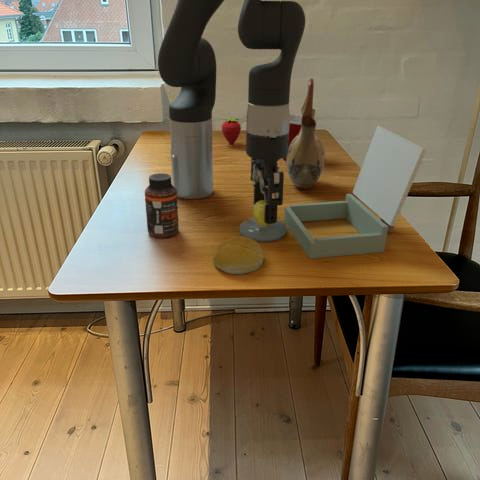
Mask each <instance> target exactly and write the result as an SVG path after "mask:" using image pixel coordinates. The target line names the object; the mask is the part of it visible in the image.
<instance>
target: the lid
mask: <svg viewBox="0 0 480 480" xmlns="http://www.w3.org/2000/svg"><path fill="white" fill-rule="evenodd" d="M426 153H427V149H426V148H424V147H422V146H421V145H418V144H416V143H415V142H412V141H410V140H409V139H406V138H404V137H402V136H401V135H398V134H397V133H395V132H393V131H390V130H388V129H387V128H386V127H385V128H384V127H383V126H381V125H380V126H379V125H377V126H376V128H375V132H374V134H373V137H372V139H371V142H370V145H369V147H368V150H367V152H366V155H365V158H364V161H363V164H362V166H361V168H360V171H359V174H358V176H357V179H356V182H355V184H354V188H353V190H352V193H351V194H352V195H354V196H356V198H357V199H358V200H360V202H361V203H363V204H365V206H366V207H367V208H368V209H369V210H372V212H374V213H375V215H376V216H377V215H378V216H377V217H380V219H381V218H382V219H383V220H384V221H385V222H386V223H388V224H389V225H390V226H394V225H396V223H397V220H398V218H399V215H400V213H401V210H402V208H403V206H404V204H405V201H406V199H407V197H408V194H409V192H410V190H411V187H412V186H413V182H414V180H415V178H416V176H417V174H418V171H419V169H420V166H421V164H422V162H423V159H424V157H425V155H426ZM394 227H395V226H394Z"/></svg>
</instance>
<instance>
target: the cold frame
mask: <svg viewBox="0 0 480 480" xmlns="http://www.w3.org/2000/svg"><path fill="white" fill-rule="evenodd" d="M359 200H360V199H359V198H357V197H355V195H354V194H353V193H346V195H345V200H337V201H323V202H310V203H309V202H307V203H295V204H294V203H293V204H289V206H286V207H285V206H284V215H283V216H284V217H283V221H284V223H285V224H286V226H287V228H288V230H290V232H291V234H292V235H293V236H294V238H295V239H296V241H297V242H298V244H299V245H300V247H301V248H302V250H303V251H304V252H305V254H306V255H307V256H308V258H309V259H311V260H312V259H321V258H332V257H342V256H344V257H345V256H354V255H365V254H375V253H385V246H386V242H387V237H388V233H387V231H388V226H387V225H386V224H385V223H383V222H382V221H381V218H379V216H377V214H374V213H373V211H371V209H370V208H369V207H368V206H366V205H364V203H363V202H362V201H361V200H360V201H359ZM337 219H338V220H339V219H345V220H347V221H348V222H349V223H350V225H351V226H352V227H354V229H355V230H356V231H357V232H358V233H355V234H345V235H334V236H333V235H332V236H320V237H315V238H314V237H313V236H312V235H311V233H310V232H309V230H308V229H307V227H305V226H304V224H303V223H302V222H312V221H313V222H314V221H327V220H337Z"/></svg>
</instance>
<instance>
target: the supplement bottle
mask: <svg viewBox="0 0 480 480" xmlns="http://www.w3.org/2000/svg"><path fill="white" fill-rule="evenodd" d="M171 176H172V175H170V174H169V173H160V172H159V173H158V172H157V173H153V174H151V175H149V177H148V183H149V185H148V186H147V187H146V188H145V190H144V202H145V213H146V214H145V215H146V226H147V233H148V234H149V235H150V236H152V237H154V238H160V239H161V238H162V239H163V238H165V239H166V238H170V237H173V236H175V235H176V234H177V233H178V232H179V227H180V226H179V214H178V213H179V211H178V210H179V209H178V208H179V206H178V203H179V202H178V197H177V190H176V188H175V187H174V186H173V183H172V177H171Z"/></svg>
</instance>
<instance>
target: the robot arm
mask: <svg viewBox="0 0 480 480" xmlns="http://www.w3.org/2000/svg"><path fill="white" fill-rule="evenodd" d="M224 1H225V0H177V2H176V5H175V8H174V10H173V13H172V16H171V19H170V22H169V23H168V26H167V29H166V31H165V34H164V37H163V39H162V41H161V45H160V47H159V52H158V55H157V56H158V57H157V69H158V73H159V76H160V78H161V79H162V81H163V83H164V84H166V85H167V86H169V87H173V88H180V92H179V94H178V96H177V97H176V98H174V100H173V101H172V102H171V103H170V104H169V107H168V116H169V117H168V118H169V133H170V134H169V135H170V161H171V163H170V165H171V166H170V167H171V176H172V177H171V184H172V185H173V186H174V187H175V188H176V190H177V198H182V199H188V200H196V199H198V200H199V199H203V198H207V197H209V196H212V194H213V193H214V170H213V169H214V167H213V166H214V165H213V164H214V163H213V162H214V161H213V158H214V157H213V156H214V155H213V109H214V106H215V105H216V104H215V103H216V99H217V98H216V91H217V58H216V54H215V50H214V48H213V46H212V44H211V43H210V42H209V41H208V40H206V39H205V38H203V34H204V32H205V29H206V27H207V25H208V23H209V22H210V20H211V18H212V17H213V16H214V14H215V13H216V11H218V9H219V8H220V7H221V5H223V3H224ZM237 23H238V24H237V32H238V33H237V34H238V35H237V36H238V38H239V41H240V42H241V44H242V45H243V46H244V48H246V49H249V50H280V54H279V55H278V57H277V58H276V59H275V60H273V61H271V62H267V63H264V64H258V65H255V66H253V67H252V68H250V70H249V73H248V87H247V88H248V94H247V96H248V97H247V99H248V103H247V111H246V121H245V122H246V126H245V127H246V130H245V131H246V133H245V134H246V135H245V137H246V139H245V143H246V144H245V153H246V155H247V157H249V158H250V159H251V160H250V181H251V182H252V183H251V184H252V187H253V205H255V204H256V203H257V202H258V201H260V200H265V201H264V203H265V213H264V221H265V223H266V224H273V223H276V222H277V221H278V206H283V203H284V199H283V198H284V178H285V174H284V172H283V171H280V166H278V165H279V163H278V161H280V160H281V159H283V158H284V157H286V156H287V154H288V141H289V124H290V114H291V113H290V111H291V110H290V96H291V95H290V93H291V79H292V75H293V74H292V73H293V68H294V64H295V61H296V60H295V59H296V56H297V53H298V50H299V47H300V44H301V42H302V38H303V36H304V32H305V27H306V14H305V11H304V8H303V7H302V5H301V4H299V3H298V2H297V1H293V0H281V1H280V0H243V4H242V6H241V9H240V14H239V19H238V22H237ZM273 194H274V197H273Z"/></svg>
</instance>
